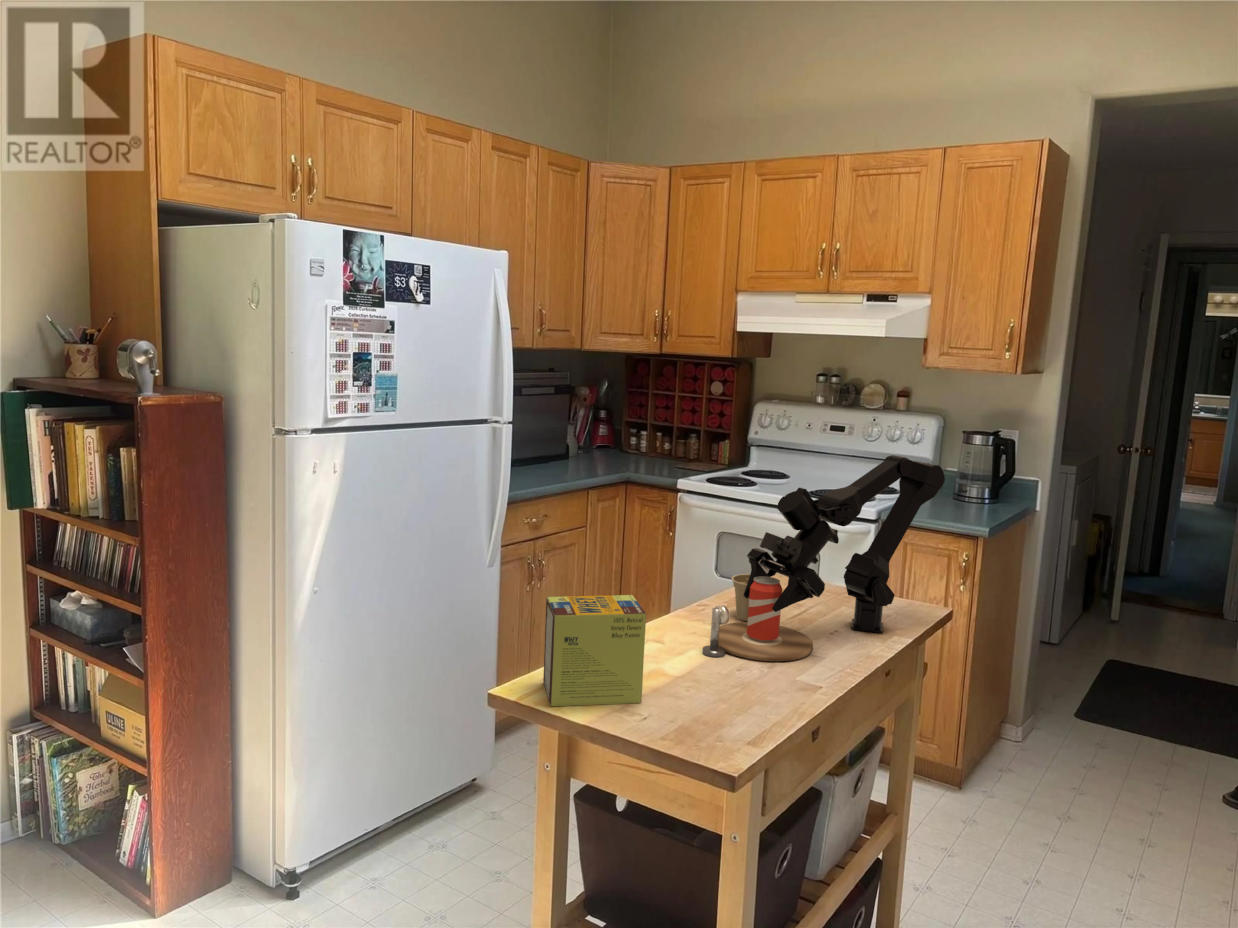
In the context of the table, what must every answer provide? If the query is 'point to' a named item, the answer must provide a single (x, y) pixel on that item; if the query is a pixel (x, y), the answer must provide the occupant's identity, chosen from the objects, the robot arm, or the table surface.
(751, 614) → the beverage can
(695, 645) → the table surface
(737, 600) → the flower pot
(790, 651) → the lazy susan
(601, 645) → the protein box
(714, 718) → the table surface
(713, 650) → the metal door stop
